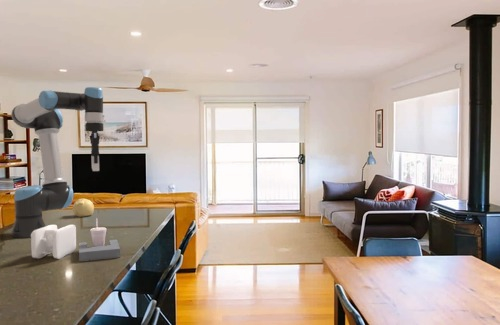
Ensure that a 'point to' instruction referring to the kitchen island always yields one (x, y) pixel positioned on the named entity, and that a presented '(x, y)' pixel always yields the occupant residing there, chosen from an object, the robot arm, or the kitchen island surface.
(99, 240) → the smoothie
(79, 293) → the kitchen island surface
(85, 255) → the notched board
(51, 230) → the cable organizer
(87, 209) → the pale yellow round lump
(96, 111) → the robot arm
